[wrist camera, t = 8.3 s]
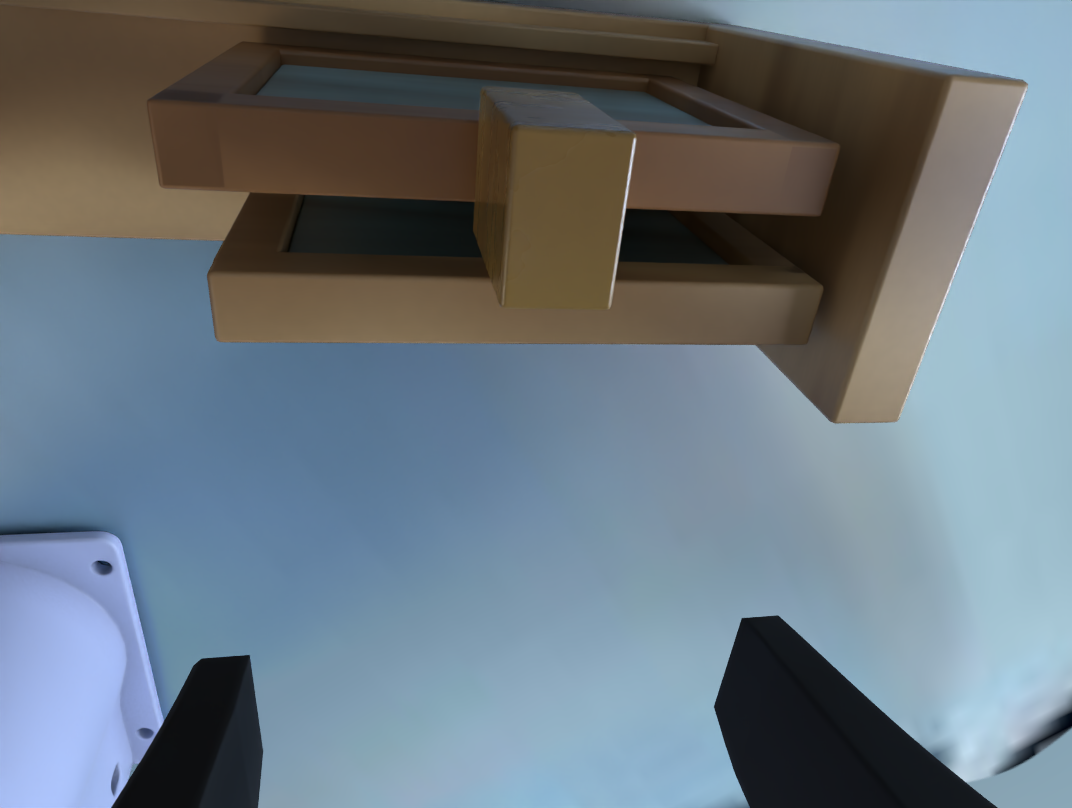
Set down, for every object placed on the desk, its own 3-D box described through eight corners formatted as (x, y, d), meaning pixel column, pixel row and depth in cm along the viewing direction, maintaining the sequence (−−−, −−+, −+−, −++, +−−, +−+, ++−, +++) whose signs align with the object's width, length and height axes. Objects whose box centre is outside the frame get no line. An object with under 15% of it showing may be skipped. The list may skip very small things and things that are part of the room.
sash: (661, 144, 16) (923, 316, 9) (247, 119, 15) (97, 305, 7) (676, 55, 16) (983, 155, 8) (236, 16, 14) (52, 95, 6)
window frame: (694, 241, 19) (899, 424, 12) (-222, 209, 15) (-808, 458, 8) (738, 25, 17) (1034, 81, 9) (-340, -81, 13) (-1379, -134, 5)
